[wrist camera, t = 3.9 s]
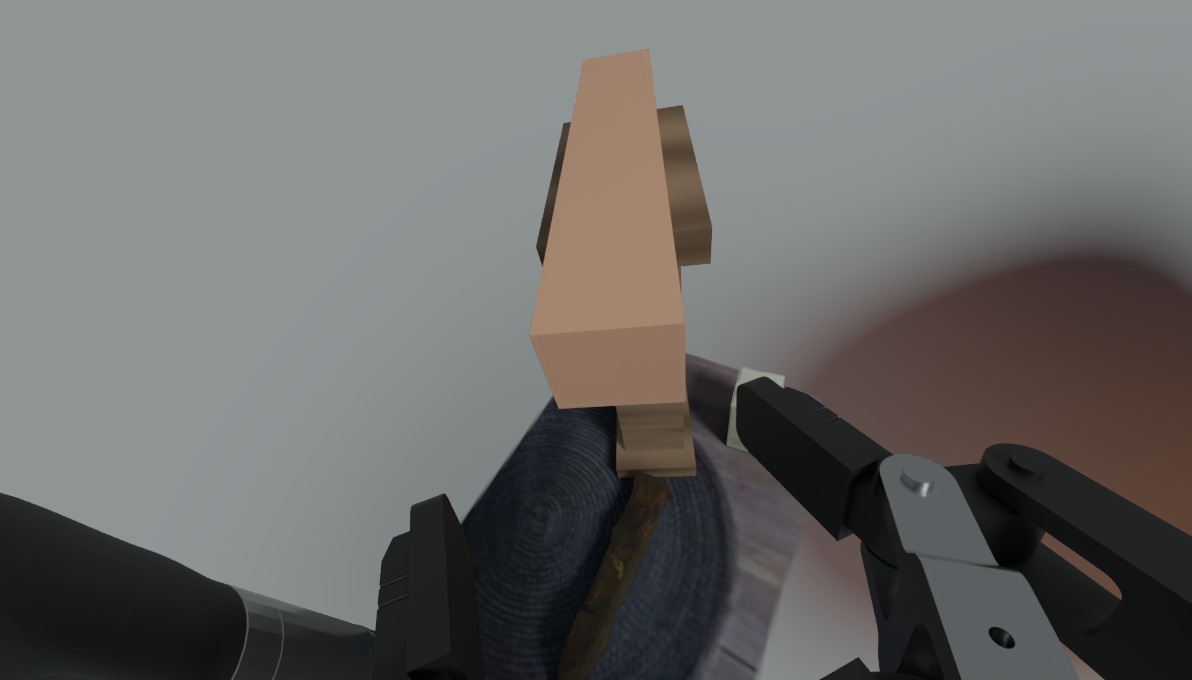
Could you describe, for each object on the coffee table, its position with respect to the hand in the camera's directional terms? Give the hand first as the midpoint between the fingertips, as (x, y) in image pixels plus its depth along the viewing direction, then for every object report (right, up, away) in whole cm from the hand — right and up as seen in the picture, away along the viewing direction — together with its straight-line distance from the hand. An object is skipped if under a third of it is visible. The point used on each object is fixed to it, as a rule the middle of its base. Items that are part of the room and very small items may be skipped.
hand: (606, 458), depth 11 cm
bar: (+1, +10, +10) cm, 14 cm away
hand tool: (+2, -19, +28) cm, 34 cm away
